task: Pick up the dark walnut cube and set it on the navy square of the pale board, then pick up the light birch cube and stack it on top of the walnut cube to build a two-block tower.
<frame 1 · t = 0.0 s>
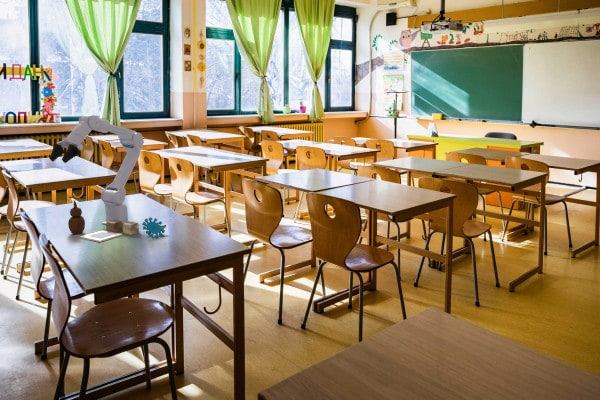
hand: (57, 160, 227), 32 cm above the table, tool tilted 50°, fingers open, 7 cm apart
brown gourd: (77, 233, 239), on the table
board: (101, 236, 235), on the table
walnut block: (114, 231, 243), on the table
teal virus model: (155, 236, 237), on the table
birch block: (131, 233, 241), on the table
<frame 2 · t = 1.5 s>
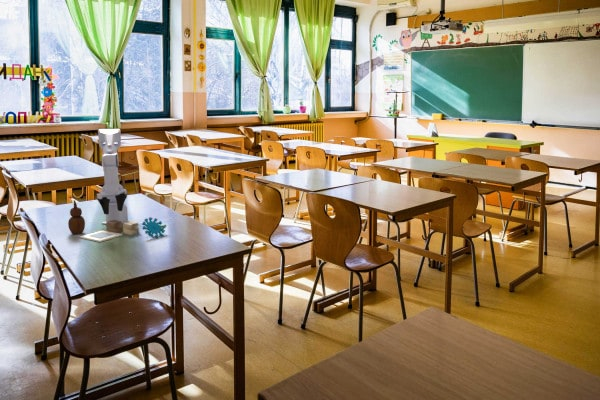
hand: (113, 212, 241), 8 cm above the table, tool pointing down, fingers open, 7 cm apart
nothing on the table moved.
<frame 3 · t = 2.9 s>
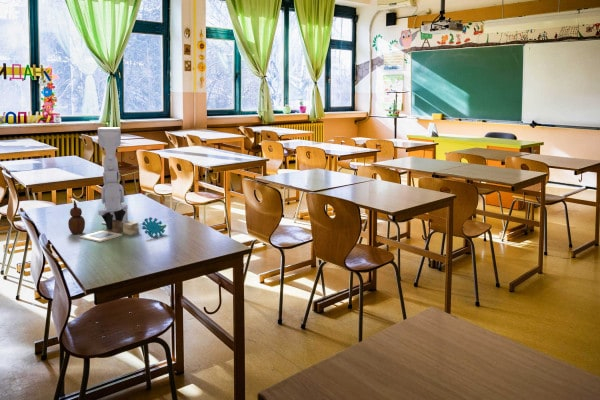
hand: (114, 228, 243), 1 cm above the table, tool pointing down, fingers closed on walnut block, 4 cm apart
walnut block: (114, 231, 243), on the table, touching gripper
everything else where it was.
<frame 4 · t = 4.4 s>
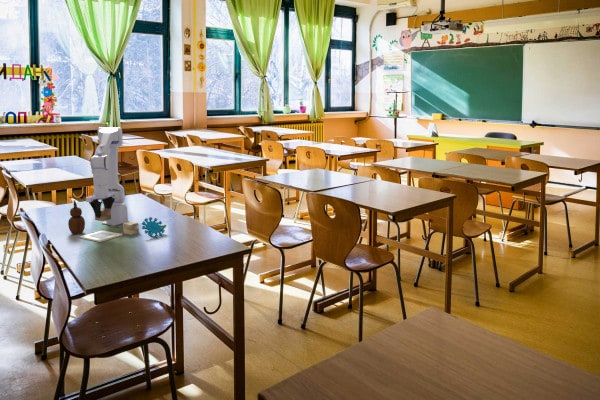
hand: (102, 216, 234), 9 cm above the table, tool pointing down, fingers closed on walnut block, 4 cm apart
walnut block: (103, 219, 235), point 7 cm above the table, touching gripper
everything else where it was.
when the fingers open (4 cm above the table, at t = 5.9 s): walnut block drops 1 cm, resting on board.
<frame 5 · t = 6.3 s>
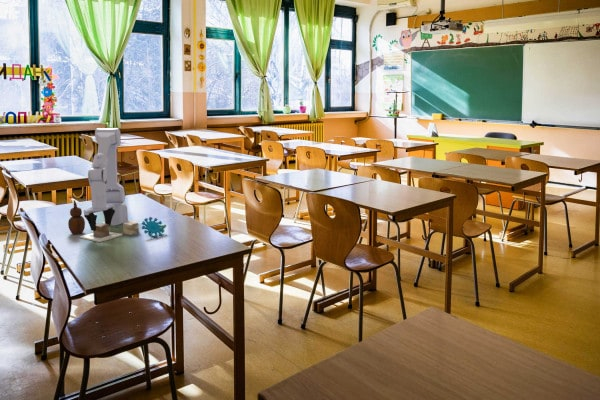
hand: (100, 228, 234), 4 cm above the table, tool pointing down, fingers open, 7 cm apart
walnut block: (101, 235, 234), point 1 cm above the table, touching board
everything else where it was.
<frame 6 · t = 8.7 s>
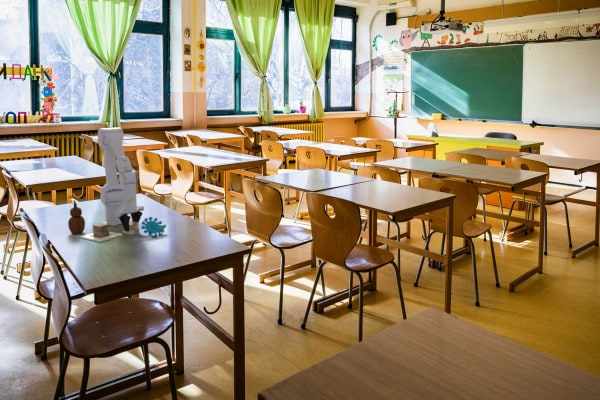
hand: (131, 229, 241), 1 cm above the table, tool pointing down, fingers closed on birch block, 4 cm apart
birch block: (131, 232, 241), on the table, touching gripper
everything else where it was.
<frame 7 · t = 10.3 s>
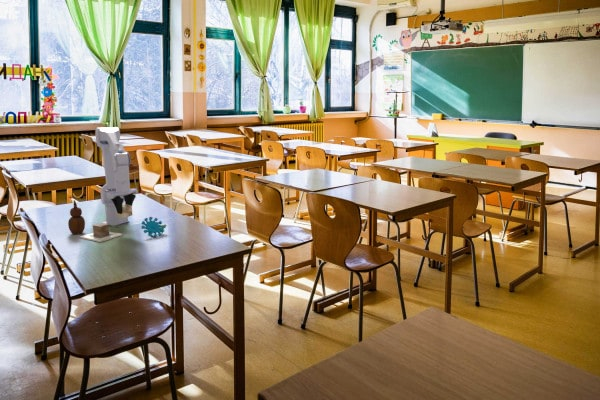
hand: (124, 212, 238), 9 cm above the table, tool pointing down, fingers closed on birch block, 4 cm apart
birch block: (124, 215, 238), point 8 cm above the table, touching gripper
when the fingers open (8 cm above the table, at t = 11.7 s): birch block drops 1 cm, resting on walnut block.
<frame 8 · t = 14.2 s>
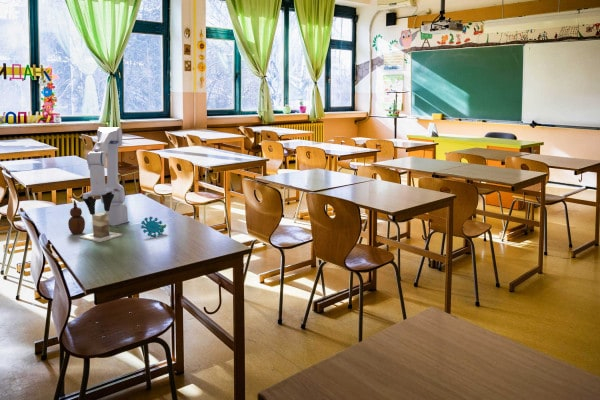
hand: (99, 212, 232), 10 cm above the table, tool pointing down, fingers open, 7 cm apart
walnut block: (101, 235, 234), point 1 cm above the table, touching birch block, board
birch block: (100, 224, 233), point 5 cm above the table, touching walnut block
at the end: walnut block 0.1 cm off-centre on the board, point 0.7 cm above the board's base; birch block 0.1 cm off-centre on the board, point 5.2 cm above the board's base; birch block tilted 0° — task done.
